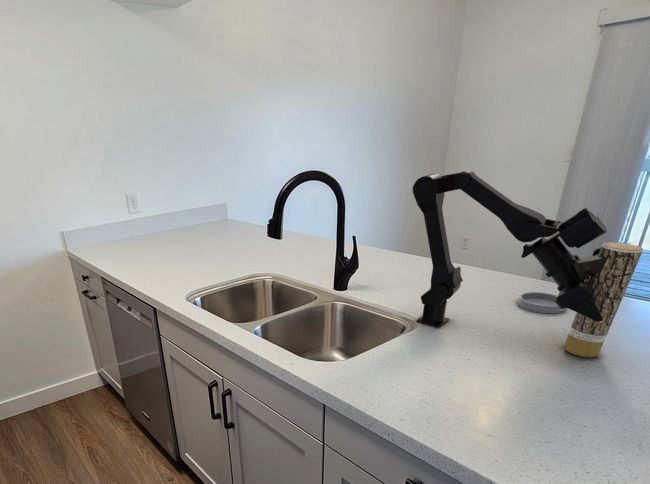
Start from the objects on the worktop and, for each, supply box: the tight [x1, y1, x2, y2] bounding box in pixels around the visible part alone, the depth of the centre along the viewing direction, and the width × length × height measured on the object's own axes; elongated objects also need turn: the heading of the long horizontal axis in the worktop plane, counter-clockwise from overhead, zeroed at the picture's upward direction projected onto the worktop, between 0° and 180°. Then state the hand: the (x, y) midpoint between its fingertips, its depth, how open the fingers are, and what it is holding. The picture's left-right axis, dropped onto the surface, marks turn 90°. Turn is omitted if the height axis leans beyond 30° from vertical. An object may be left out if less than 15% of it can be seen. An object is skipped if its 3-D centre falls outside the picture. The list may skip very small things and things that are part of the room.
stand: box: [517, 291, 566, 314], centre depth 127 cm, size 12×12×2 cm
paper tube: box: [563, 241, 644, 358], centre depth 97 cm, size 7×7×25 cm
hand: (601, 315), depth 97 cm, fingers closed on paper tube, 7 cm apart
